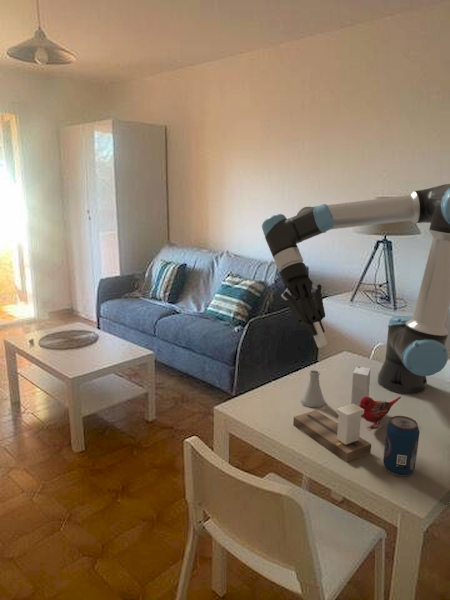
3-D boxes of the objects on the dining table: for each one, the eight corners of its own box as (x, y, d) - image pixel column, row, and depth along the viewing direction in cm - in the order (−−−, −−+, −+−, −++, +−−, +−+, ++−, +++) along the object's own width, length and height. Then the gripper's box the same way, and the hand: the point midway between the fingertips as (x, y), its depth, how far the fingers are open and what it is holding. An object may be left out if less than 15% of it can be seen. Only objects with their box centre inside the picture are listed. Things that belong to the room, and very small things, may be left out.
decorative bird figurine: (352, 431, 122) (355, 397, 120) (394, 414, 132) (398, 382, 129) (360, 436, 120) (364, 401, 117) (403, 418, 129) (407, 385, 127)
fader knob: (334, 439, 113) (336, 408, 111) (350, 433, 116) (353, 403, 114) (344, 446, 110) (347, 414, 108) (361, 439, 113) (364, 409, 111)
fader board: (293, 425, 125) (293, 416, 124) (315, 418, 129) (316, 409, 128) (346, 462, 108) (347, 452, 108) (370, 453, 112) (371, 443, 112)
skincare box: (365, 415, 131) (369, 375, 128) (349, 412, 133) (352, 373, 130) (368, 406, 136) (372, 368, 133) (353, 403, 138) (356, 365, 135)
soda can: (382, 457, 110) (387, 412, 107) (413, 462, 108) (418, 416, 105) (383, 474, 104) (388, 426, 101) (416, 480, 102) (422, 431, 99)
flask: (325, 409, 134) (327, 377, 132) (300, 407, 135) (301, 375, 133) (324, 398, 141) (327, 368, 139) (301, 396, 142) (302, 366, 140)
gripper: (303, 269, 135) (334, 344, 129) (266, 276, 129) (296, 355, 123) (316, 257, 128) (349, 336, 122) (278, 265, 122) (310, 348, 116)
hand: (322, 346), depth 122 cm, fingers closed
